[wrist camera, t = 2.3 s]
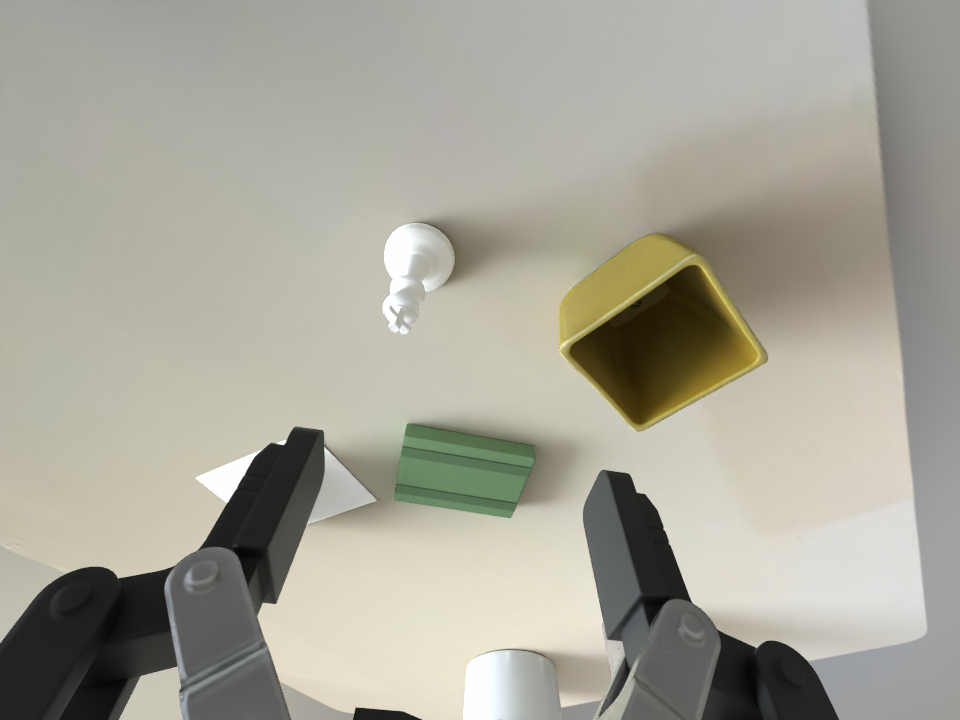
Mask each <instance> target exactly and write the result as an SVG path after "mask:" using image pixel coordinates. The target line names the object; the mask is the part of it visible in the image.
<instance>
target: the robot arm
mask: <svg viewBox="0 0 960 720" xmlns="http://www.w3.org/2000/svg"><path fill="white" fill-rule="evenodd" d="M324 472H325V453H324V432H323V430H317V429H309V428H302V427H294V428H293V429H292V431H291V433H290V435H289V437H288V439H287V440H286V442H285V444H284V445H282V444H274V443H270V444H269V445H268V446H267V447H265V448H264V449H263V450H262V451H261V452H259V453H258V454H257V455H256V456H255V457H254V458H253V460H252V462H251V463H250V465H249V467H248V469H247V470H246V472H245V476H243V477H242V479H241V481H240V482H239V484H238V486H237V489H236V490H235V491H234V493H233V494H232V496H231V498H230V499H229V501H228V503H227V505H226V506H225V508H224V510H223V512H222V513H221V515H220V517H219V518H218V520H217V522H216V524H215V525H214V527H213V529H212V530H211V532H210V534H209V536H208V537H207V539H206V541H205V542H204V543H203V545H202V546H201V547H200V548H199V550H198V551H196V552H194V553H191V554H190V555H188V556H186V557H185V558H184V559H182V560H181V561H180V562H179V563H178V564H177V565H175V566H173V567H171V568H168V569H165V570H161V571H157V572H151V573H146V574H141V575H135V576H130V577H124V578H119V579H118V578H117V576H116V575H115V574H114V572H112V571H111V570H109V569H107V568H104V567H87V568H82V569H78V570H75V571H72V572H70V573H67V574H65V575H63V576H61V577H60V578H58V579H56V580H55V581H53V582H52V583H51V584H49V585H48V586H46V587H45V588H44V589H43V590H42V591H41V592H40V593H39V594H38V595H37V596H36V597H35V599H34V600H33V601H32V603H31V604H30V605H29V606H28V608H27V609H26V610H25V612H24V613H23V614H22V616H21V617H20V618H19V620H18V621H17V622H16V623H15V625H14V626H13V627H12V629H11V630H10V631H9V633H8V634H7V635H6V637H5V638H4V639H3V640H2V642H1V643H0V720H119V718H120V716H121V714H122V712H123V710H124V708H125V706H126V704H127V702H128V700H129V698H130V695H131V694H132V692H133V690H134V688H135V686H136V684H137V682H138V680H139V678H140V676H142V675H146V674H149V673H153V672H157V671H161V670H165V669H169V668H173V667H177V666H178V670H179V676H180V683H181V689H180V691H179V697H180V706H181V713H182V719H183V720H291V718H290V714H289V711H288V708H287V705H286V701H285V698H284V695H283V692H282V689H281V686H280V682H279V679H278V676H277V673H276V670H275V667H274V664H273V660H272V657H271V654H270V651H269V648H268V646H267V643H266V642H265V640H264V637H263V634H262V630H261V627H260V624H259V621H258V618H257V615H258V613H259V610H260V608H261V606H262V603H271V604H276V603H277V600H278V597H279V595H280V592H281V590H282V587H283V585H284V582H285V579H286V577H287V574H288V572H289V569H290V566H291V564H292V561H293V559H294V556H295V554H296V551H297V548H298V546H299V543H300V541H301V538H302V535H303V533H304V530H305V528H306V525H307V523H308V520H309V517H310V515H311V512H312V510H313V507H314V504H315V502H316V499H317V497H318V494H319V492H320V489H321V486H322V482H323V478H324ZM583 523H584V528H585V533H586V538H587V543H588V548H589V553H590V558H591V563H592V567H593V572H594V577H595V582H596V587H597V592H598V597H599V602H600V607H601V612H602V617H603V622H604V627H605V632H606V637H607V640H613V641H622V643H623V648H624V652H625V653H624V655H623V656H622V658H621V660H620V662H619V664H618V666H617V668H616V671H615V673H614V675H613V677H612V679H611V681H610V684H609V686H608V688H607V690H606V692H605V694H604V697H603V699H602V701H601V703H600V706H599V707H598V710H597V712H596V714H595V716H594V718H593V720H839V719H838V716H837V714H836V712H835V710H834V708H833V706H832V704H831V702H830V700H829V698H828V696H827V694H826V692H825V689H824V687H823V685H822V683H821V681H820V679H819V678H818V675H817V674H816V672H815V671H814V669H813V668H812V666H811V665H810V664H809V663H808V662H807V660H806V659H805V658H804V657H803V656H801V655H800V654H799V653H798V652H797V651H795V650H794V649H793V648H791V647H789V646H788V645H786V644H783V643H781V642H778V641H766V642H764V643H762V644H761V645H760V646H759V647H758V648H755V647H753V646H751V645H749V644H746V643H744V642H742V641H740V640H737V639H735V638H733V637H731V636H729V635H726V634H724V633H722V632H720V631H719V630H717V629H716V627H715V625H714V624H713V622H712V621H711V619H710V618H709V617H708V616H707V614H706V613H705V612H704V611H702V610H701V609H700V608H699V607H697V606H696V605H694V604H693V603H692V601H691V599H690V597H689V594H688V592H687V589H686V586H685V584H684V581H683V578H682V575H681V573H680V570H679V567H678V565H677V562H676V559H675V557H674V554H673V551H672V548H671V546H670V545H669V540H668V538H667V535H666V532H665V531H664V530H663V528H664V527H663V524H662V521H661V519H660V516H659V513H658V511H657V509H656V508H655V507H654V505H653V504H652V503H651V501H650V500H649V499H648V498H647V496H646V495H645V494H640V493H637V492H636V490H635V487H634V484H633V481H632V478H631V476H630V475H629V474H628V473H622V472H614V471H607V470H602V471H601V472H600V473H599V475H598V477H597V479H596V481H595V483H594V485H593V487H592V489H591V491H590V493H589V495H588V497H587V499H586V502H585V505H584V510H583ZM353 720H421V719H419V718H417V717H414V716H412V715H410V714H407V713H405V712H402V711H390V710H379V709H367V708H355V713H354V718H353Z"/></svg>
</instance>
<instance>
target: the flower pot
mask: <svg viewBox="0 0 960 720" xmlns="http://www.w3.org/2000/svg"><path fill="white" fill-rule="evenodd" d="M637 300H639V301H640V304H639V305H638V306H633V303H634V302H636V301H637ZM559 352H560V354H561V355H562V357H563V358H564V359H565V360H566V361H567V362H568V363H569V364H570V365H571V366H572V367H574V368H575V369H576V370H577V371H578V372H579V373H580V374H581V375H582V376H583V377H584V378H585V379H586V380H587V381H588V382H589V383H590V384H591V385H592V386H593V387H594V388H595V389H596V390H597V391H598V392H599V393H600V394H601V395H602V396H603V398H604V399H605V400H606V401H607V402H608V403H609V404H610V405H611V406H612V407H613V408H614V410H615V411H616V412H617V413H618V414H619V415H620V416H621V417H622V418H623V419H624V421H625V422H626V423H627V424H628V425H629V426H630V427H631V428H632V429H634V430H635V431H637V432H640V431H643V430H645V429H647V428H649V427H651V426H653V425H655V424H656V423H658V422H660V421H662V420H663V419H665V418H667V417H669V416H671V415H672V414H674V413H676V412H678V411H679V410H681V409H683V408H685V407H687V406H688V405H690V404H692V403H694V402H696V401H698V400H699V399H701V398H703V397H705V396H706V395H708V394H710V393H712V392H714V391H716V390H718V389H719V388H721V387H723V386H725V385H726V384H728V383H730V382H732V381H734V380H736V379H738V378H740V377H741V376H743V375H745V374H747V373H749V372H751V371H752V370H754V369H756V368H757V367H759V366H761V365H762V364H764V363H766V362H767V360H768V355H767V352H766V350H765V349H764V347H763V346H762V345H761V343H760V342H759V340H758V339H757V337H756V336H755V334H754V333H753V331H752V330H751V328H750V327H749V325H748V324H747V322H746V321H745V319H744V318H743V316H742V315H741V313H740V311H739V310H738V308H737V307H736V305H735V304H734V302H733V301H732V299H731V298H730V296H729V295H728V293H727V291H726V290H725V288H724V287H723V285H722V284H721V282H720V280H719V278H718V277H717V275H716V274H715V272H714V270H713V269H712V268H711V266H710V264H709V263H708V262H707V260H706V259H705V258H704V256H703V255H702V254H700V253H698V252H697V251H695V250H693V249H691V248H690V247H688V246H686V245H685V244H683V243H681V242H679V241H677V240H675V239H674V238H672V237H670V236H667V235H665V234H657V233H656V234H650V235H646V236H644V237H642V238H640V239H638V240H636V241H635V242H633V243H632V244H630V245H629V246H627V247H626V248H625V249H624V250H622V251H621V252H620V253H618V254H617V255H616V256H614V257H613V258H612V259H610V260H609V261H608V262H606V263H605V264H604V265H602V266H601V267H599V268H598V269H597V270H595V271H594V272H593V273H591V274H590V275H589V276H587V277H586V278H584V279H583V280H582V281H581V282H579V283H578V284H577V285H575V286H574V287H573V288H572V289H571V290H570V291H569V292H568V293H567V294H566V296H565V297H564V299H563V300H562V302H561V305H560V308H559Z"/></svg>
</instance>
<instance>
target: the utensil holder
mask: <svg viewBox="0 0 960 720" xmlns="http://www.w3.org/2000/svg"><path fill="white" fill-rule="evenodd" d="M463 720H562V713H561V706H560V699H559V692H558V685H557V679H556V672H555V667H554V665H553V663H552V662H551V661H550V660H549V659H548V658H546V657H544V656H542V655H539V654H536V653H533V652H528V651H521V650H500V651H494V652H489V653H486V654H483V655H480V656H478V657H476V658H475V659H473V660H472V661H471V662H470V663H469V664H468V666H467V671H466V684H465V698H464V717H463Z"/></svg>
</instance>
